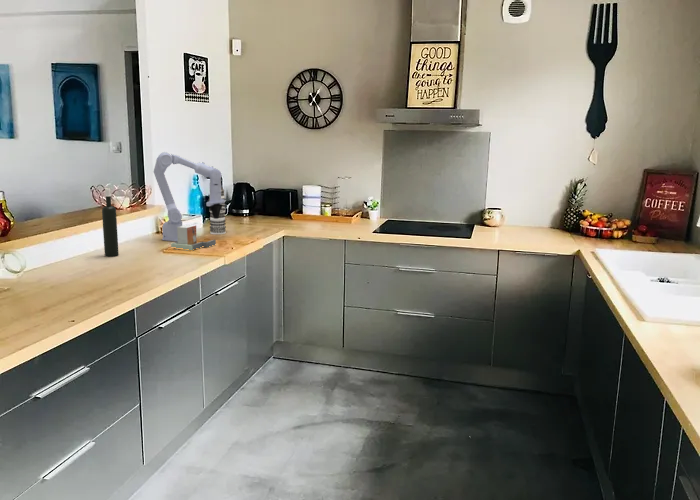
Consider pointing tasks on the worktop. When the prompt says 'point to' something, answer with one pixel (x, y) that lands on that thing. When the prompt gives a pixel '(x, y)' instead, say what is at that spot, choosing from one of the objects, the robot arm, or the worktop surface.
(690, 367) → the worktop surface
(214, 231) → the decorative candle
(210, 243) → the keyhole jig
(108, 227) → the wine bottle
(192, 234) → the small box
